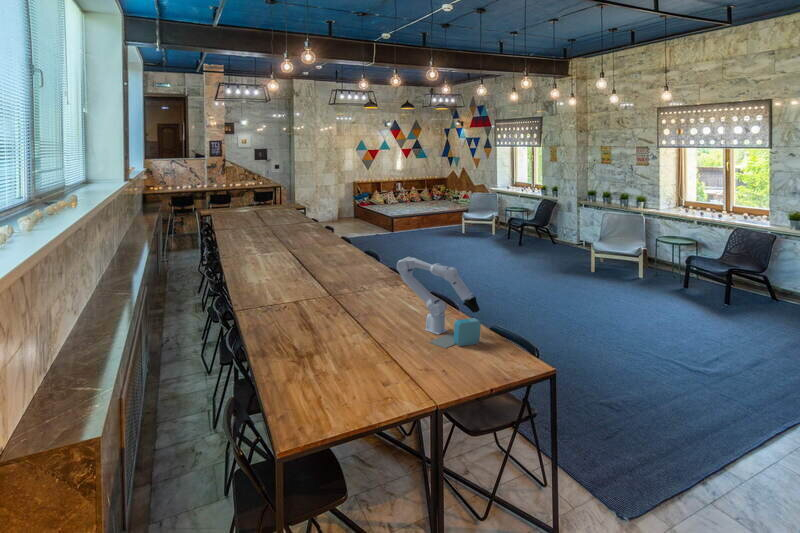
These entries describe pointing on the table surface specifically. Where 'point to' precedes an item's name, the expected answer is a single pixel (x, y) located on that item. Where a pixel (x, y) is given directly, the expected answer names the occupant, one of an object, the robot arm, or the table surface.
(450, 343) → the mat
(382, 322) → the table surface
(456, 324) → the data package
